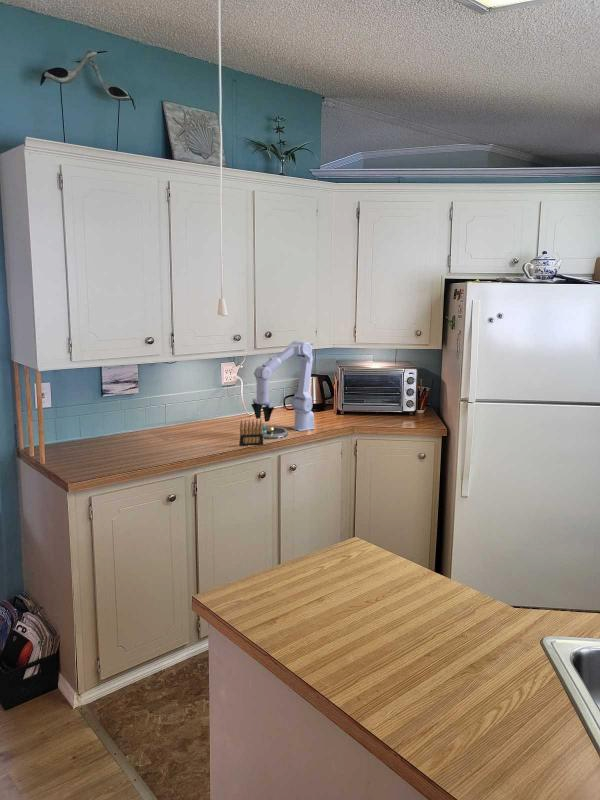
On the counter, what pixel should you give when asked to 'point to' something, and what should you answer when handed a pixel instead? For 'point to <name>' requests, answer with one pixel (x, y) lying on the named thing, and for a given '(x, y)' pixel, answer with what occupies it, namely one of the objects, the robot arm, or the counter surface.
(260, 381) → the robot arm
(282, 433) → the round metal bowl
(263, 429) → the teal mushroom knob
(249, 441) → the ammunition clip
